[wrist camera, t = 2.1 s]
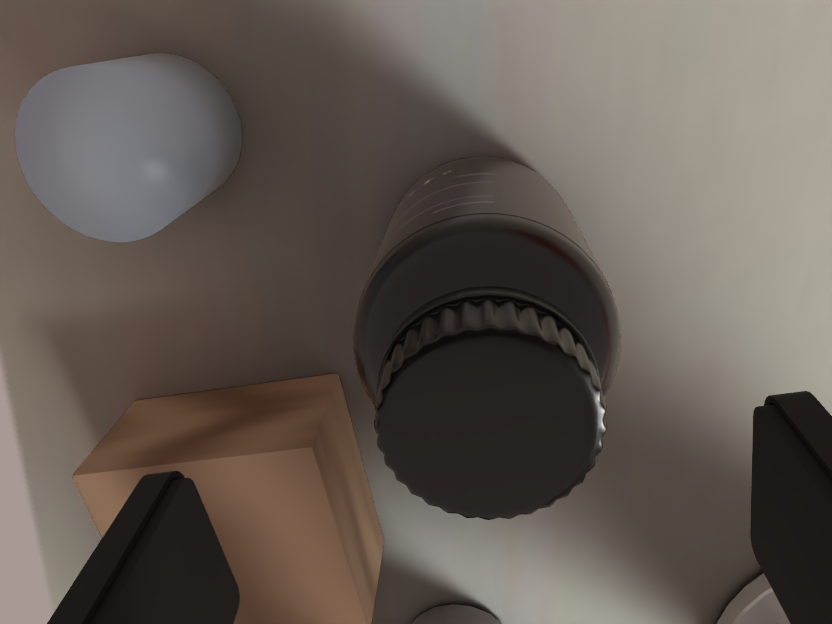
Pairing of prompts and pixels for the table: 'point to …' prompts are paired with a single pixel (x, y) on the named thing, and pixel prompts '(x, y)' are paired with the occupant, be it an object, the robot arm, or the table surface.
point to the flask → (455, 616)
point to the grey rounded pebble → (126, 143)
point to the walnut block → (259, 491)
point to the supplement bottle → (487, 341)
